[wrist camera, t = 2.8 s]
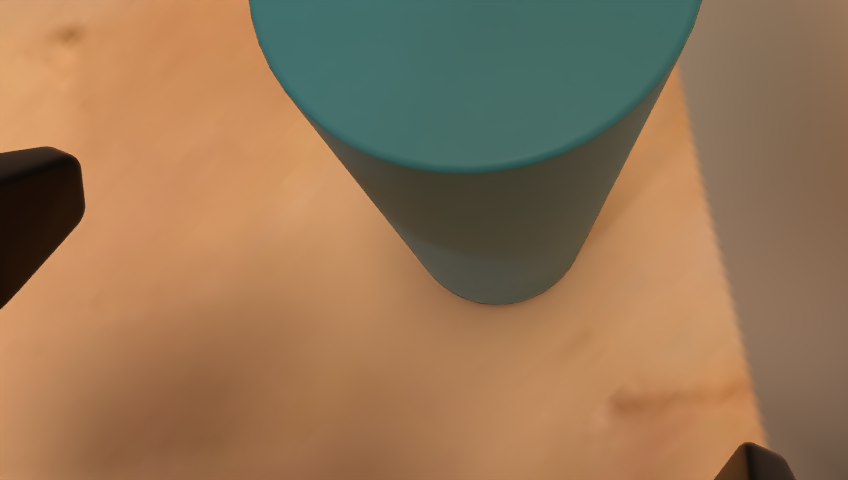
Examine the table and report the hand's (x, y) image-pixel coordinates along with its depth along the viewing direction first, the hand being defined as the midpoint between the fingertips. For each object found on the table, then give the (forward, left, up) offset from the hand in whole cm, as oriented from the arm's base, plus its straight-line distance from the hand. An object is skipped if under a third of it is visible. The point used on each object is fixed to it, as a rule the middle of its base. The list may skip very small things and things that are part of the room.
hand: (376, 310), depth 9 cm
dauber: (+3, +1, -10) cm, 11 cm away
